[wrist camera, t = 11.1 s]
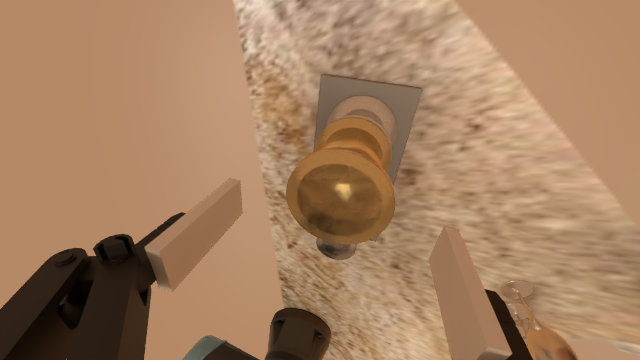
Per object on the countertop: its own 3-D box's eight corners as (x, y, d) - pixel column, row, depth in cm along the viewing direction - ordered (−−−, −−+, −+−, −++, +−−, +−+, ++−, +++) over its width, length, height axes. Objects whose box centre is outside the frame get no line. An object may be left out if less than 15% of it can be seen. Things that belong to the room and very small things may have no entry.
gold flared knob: (380, 192, 25) (380, 254, 18) (313, 178, 26) (284, 231, 19) (400, 123, 22) (409, 164, 14) (320, 110, 23) (288, 142, 15)
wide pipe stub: (386, 167, 32) (387, 199, 26) (323, 155, 34) (308, 182, 27) (405, 101, 28) (412, 117, 21) (331, 89, 29) (315, 101, 22)
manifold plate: (376, 235, 40) (375, 241, 39) (309, 219, 42) (306, 224, 41) (420, 87, 28) (422, 89, 27) (324, 74, 30) (321, 75, 29)
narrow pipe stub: (362, 224, 38) (356, 268, 30) (324, 215, 39) (309, 256, 31) (370, 191, 35) (366, 231, 27) (328, 182, 36) (313, 219, 28)
